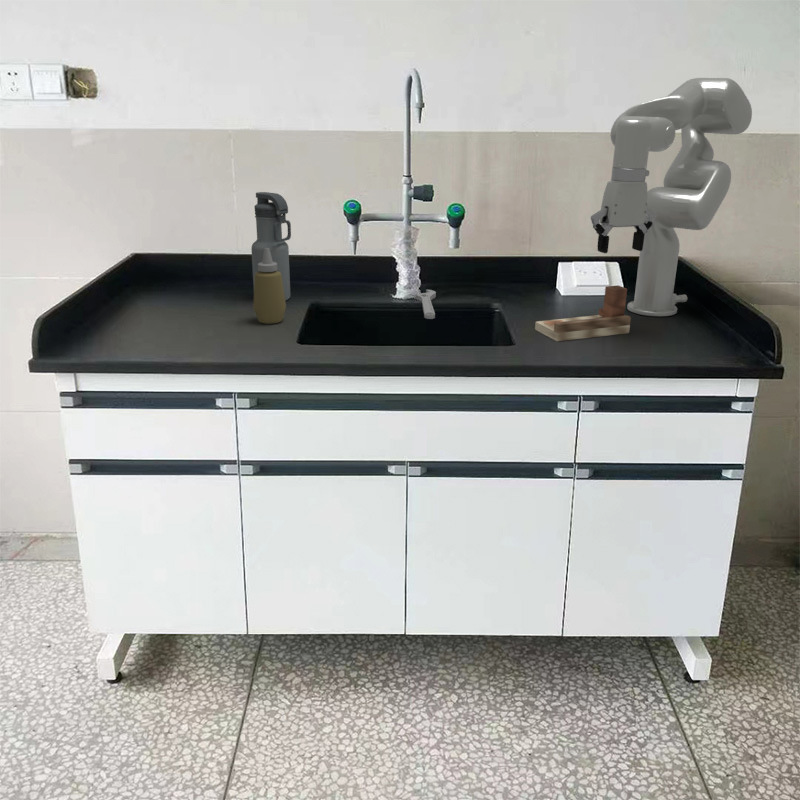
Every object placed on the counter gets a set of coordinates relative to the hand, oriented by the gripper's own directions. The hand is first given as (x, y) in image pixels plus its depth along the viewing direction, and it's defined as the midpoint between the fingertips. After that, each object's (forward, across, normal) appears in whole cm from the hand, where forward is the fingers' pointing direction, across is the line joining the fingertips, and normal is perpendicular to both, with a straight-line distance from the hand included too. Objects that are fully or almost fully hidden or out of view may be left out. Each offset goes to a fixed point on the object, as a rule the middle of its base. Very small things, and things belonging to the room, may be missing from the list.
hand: (619, 251), depth 192 cm
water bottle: (+20, +71, -55) cm, 92 cm away
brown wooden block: (+17, 0, -1) cm, 17 cm away
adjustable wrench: (+20, +34, -35) cm, 53 cm away
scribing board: (+19, +8, -1) cm, 21 cm away
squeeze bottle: (+20, +76, -34) cm, 86 cm away
